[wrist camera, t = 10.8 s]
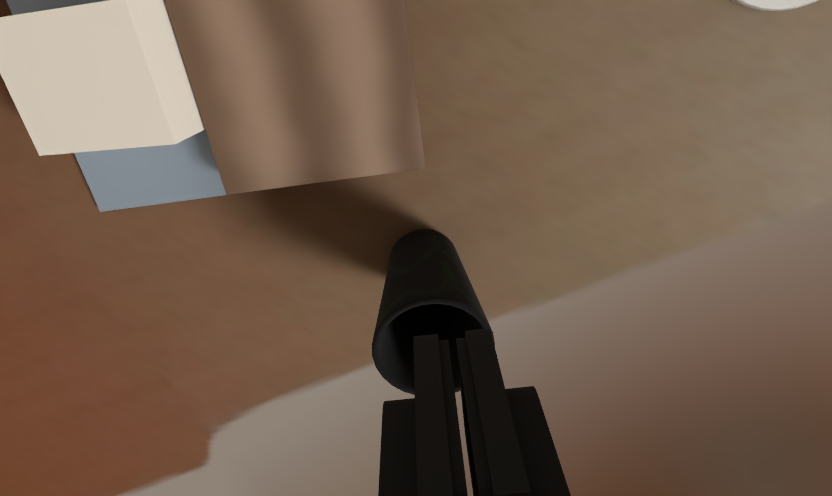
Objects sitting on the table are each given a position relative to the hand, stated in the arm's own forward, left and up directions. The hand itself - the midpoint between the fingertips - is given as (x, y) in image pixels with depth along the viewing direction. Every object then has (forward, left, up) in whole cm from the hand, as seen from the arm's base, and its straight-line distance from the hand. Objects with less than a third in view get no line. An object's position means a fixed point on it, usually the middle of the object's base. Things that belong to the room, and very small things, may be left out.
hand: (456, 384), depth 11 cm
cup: (+1, +12, -29) cm, 31 cm away
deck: (+7, -5, -29) cm, 30 cm away
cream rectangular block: (+19, -5, -27) cm, 33 cm away
